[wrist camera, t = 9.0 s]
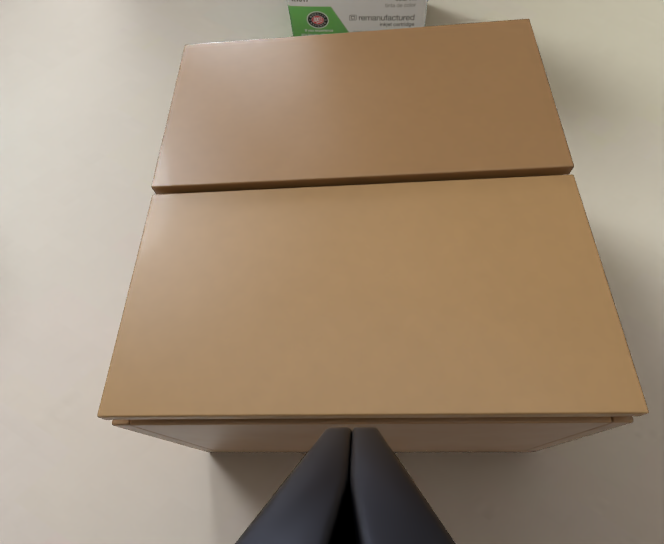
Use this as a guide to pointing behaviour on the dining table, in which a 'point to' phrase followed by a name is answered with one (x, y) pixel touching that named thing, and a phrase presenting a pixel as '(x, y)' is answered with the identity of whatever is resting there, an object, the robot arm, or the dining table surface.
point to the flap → (371, 306)
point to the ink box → (354, 15)
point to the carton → (365, 169)
